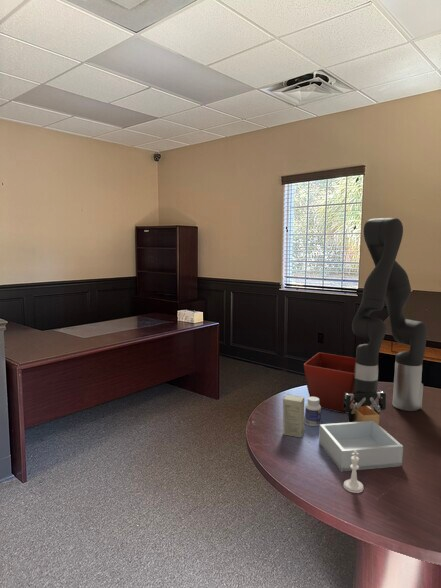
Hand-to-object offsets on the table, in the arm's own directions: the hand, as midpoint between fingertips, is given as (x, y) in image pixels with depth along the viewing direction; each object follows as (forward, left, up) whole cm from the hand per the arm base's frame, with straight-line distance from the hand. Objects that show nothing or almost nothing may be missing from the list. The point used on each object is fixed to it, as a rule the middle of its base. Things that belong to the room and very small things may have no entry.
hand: (363, 422), depth 139 cm
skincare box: (+25, +1, -2) cm, 25 cm away
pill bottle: (+16, -5, -2) cm, 17 cm away
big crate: (+10, +16, -2) cm, 19 cm away
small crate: (0, 0, -2) cm, 2 cm away
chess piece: (+19, +31, -2) cm, 36 cm away
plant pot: (+2, -19, -2) cm, 19 cm away
